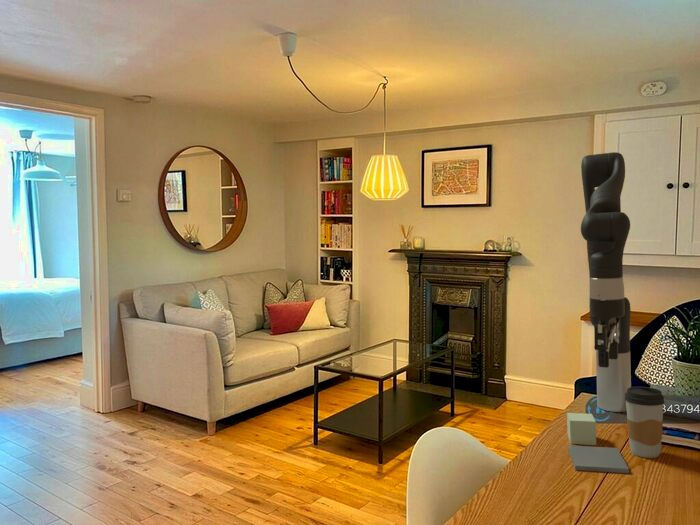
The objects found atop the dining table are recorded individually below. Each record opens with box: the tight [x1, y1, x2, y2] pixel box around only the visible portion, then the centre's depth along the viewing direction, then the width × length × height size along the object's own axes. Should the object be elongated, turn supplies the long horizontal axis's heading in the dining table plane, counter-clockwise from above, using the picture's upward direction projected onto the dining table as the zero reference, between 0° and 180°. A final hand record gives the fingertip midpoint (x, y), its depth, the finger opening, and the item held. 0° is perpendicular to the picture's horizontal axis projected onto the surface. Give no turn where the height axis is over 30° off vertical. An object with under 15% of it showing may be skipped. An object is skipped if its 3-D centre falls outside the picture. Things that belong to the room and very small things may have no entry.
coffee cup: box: [625, 386, 665, 459], centre depth 130 cm, size 8×8×15 cm
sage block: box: [566, 412, 597, 446], centre depth 140 cm, size 6×6×6 cm
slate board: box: [568, 445, 630, 474], centre depth 127 cm, size 12×11×1 cm
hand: (608, 362), depth 132 cm, fingers open, 8 cm apart
